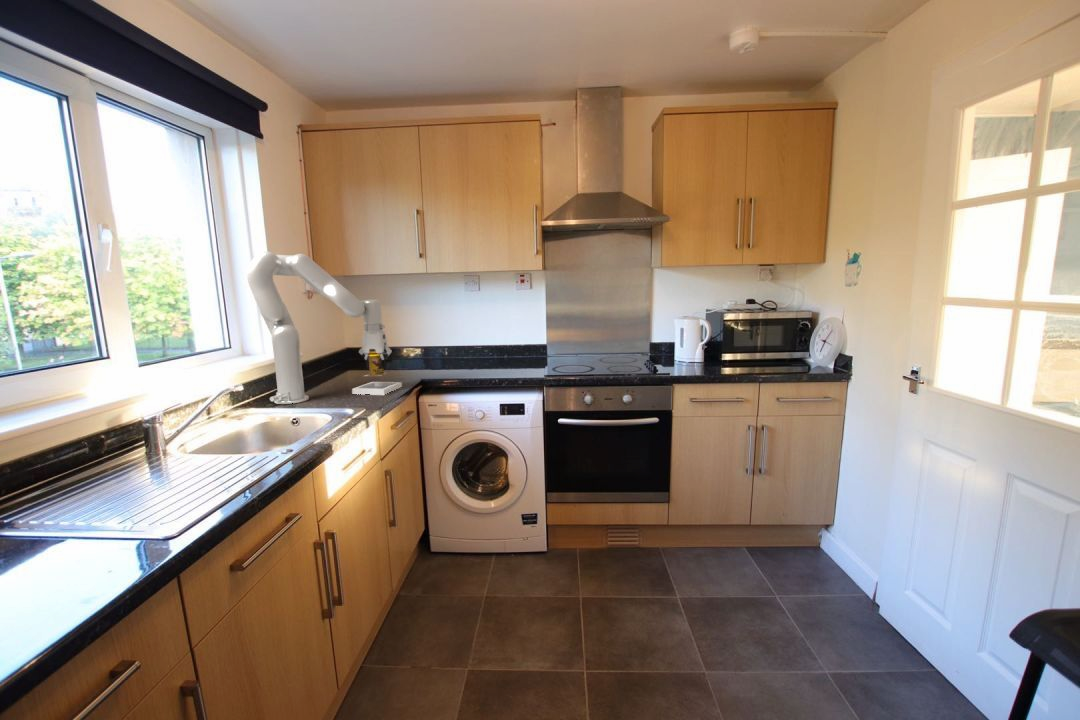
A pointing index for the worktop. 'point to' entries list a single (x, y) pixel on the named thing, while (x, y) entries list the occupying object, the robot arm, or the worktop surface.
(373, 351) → the condiment
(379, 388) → the housing
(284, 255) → the robot arm
